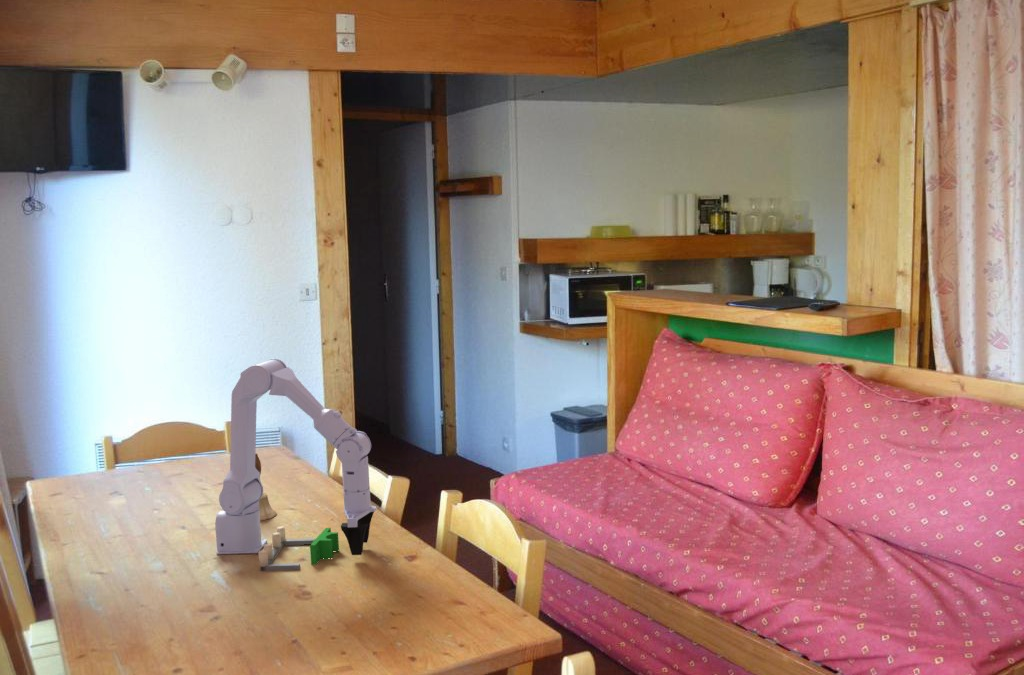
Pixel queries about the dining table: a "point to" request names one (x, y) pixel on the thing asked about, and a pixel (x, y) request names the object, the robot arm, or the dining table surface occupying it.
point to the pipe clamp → (324, 545)
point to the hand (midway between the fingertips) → (359, 548)
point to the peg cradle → (278, 542)
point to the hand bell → (264, 498)
